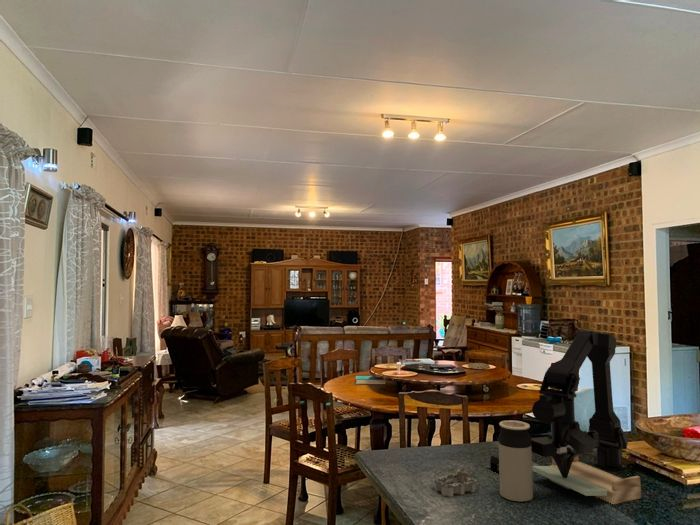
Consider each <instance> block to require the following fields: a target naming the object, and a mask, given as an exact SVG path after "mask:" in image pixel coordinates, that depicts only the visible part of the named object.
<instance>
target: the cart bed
mask: <svg viewBox="0 0 700 525" xmlns="http://www.w3.org/2000/svg"><path fill="white" fill-rule="evenodd" d="M551 458H552V459H551V460H552V461H551V462H552V464H550V465H549V466H552V467H555V468H557V469H558V467H557V465H556V463H555V461H554V459H553V457H552V456H551ZM579 458H580V457H579V455H577V456H576V457H575V458H574V460H573V462H572V465H571V468H570V471H569V474H571V475H573V476H575V477H578V478H580V479H582V480H585V481H587V482H589V483H591V484H594V485H596V486H598V487H601V488H603V489H605V490H607V491H608V492H607V496H595V497H594V498H596V499H599V498H600V499H599V500H601V499H602V500H601V501H603V500H604V501H603V502H605V501H606V502H605V503H607V502H609V503H608V504H610V503H611V504H610V505H612V504H613V505H617V504H621V503H625V502H630V501H633V500H635V501H636V500H639V499H641V498H642V490H641V489H642V488H641V486H642V485H641V476H639V475H635V476H630V477H625V478H622V477H619V476H617V475H614V474H612V473H609V472H607V471H604V470H601V469H600V468H597V467H594V466H592V465H589V464H586V463H584V462H583V461H582V462H581V461H580V460H579Z"/></svg>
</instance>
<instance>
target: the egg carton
mask: <svg viewBox="0 0 700 525" xmlns="http://www.w3.org/2000/svg"><path fill="white" fill-rule="evenodd" d="M432 481H433V482H434V483H433V484H434V491H436V492H438V491H439V492H441V495H442V496H446V497H450V498H451V497H454V495H455V494H457V495H461V496H462V495H465V492H466V493H467V492H469V491H470V492H469V493H475V492H476V489H477V483H478V482H479V481H478V480H477V479H476V478H474V477H473V476H472V477H471V478H470V475H469V473H468V472H467V471H466V470H465V468H458V469H455V470H453V472H452V473H448V474H446V475H441V476H439V477H437V478H432Z"/></svg>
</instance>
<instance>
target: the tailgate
mask: <svg viewBox="0 0 700 525" xmlns="http://www.w3.org/2000/svg"><path fill="white" fill-rule="evenodd" d="M532 472H535V473H536V474H539V475H541V476H544V477H545V478H546V479H547V478H548V479H549V481H550V482H552V483H553V484H556V485H558V486H560V487H563V488H565V489H567V490H573V491H575V492H578V493H579V494H581V495H584V496H585V497H588V496H590V497H591V496H593V497H594V496H607V492H608V491H607V490H605V489H603V488H601V487H598V486H596V485H594V484H591V483H589V482H587V481H585V480H582V479H580V478H578V477H575V476H573V475H571V474H568V477H567V478H564V477H562V475H561V473H560V471H559V469H557V468H555V467H552V466H550V465H532Z"/></svg>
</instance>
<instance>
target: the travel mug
mask: <svg viewBox="0 0 700 525" xmlns="http://www.w3.org/2000/svg"><path fill="white" fill-rule="evenodd" d="M498 424H499V426H500V432H499V434H498V454H499V477H498V478H499V494H500V496H501V497H503V498H504V499H505V500H509V501H513V502H516V501H517V502H516V503H521V502H522V503H524V501H525V502H528V501H531V500H533V498H534V495H533V494H534V489H533V484H534V483H533V471H532V466H533V456H532V454H533V452H532V444H531V440H532V437H531V435H530V433H529V430H530V428H531V425H530V424H529V423H528V422H524V421H520V420H514V419H513V420H501V421H500V422H499V423H498Z"/></svg>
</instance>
